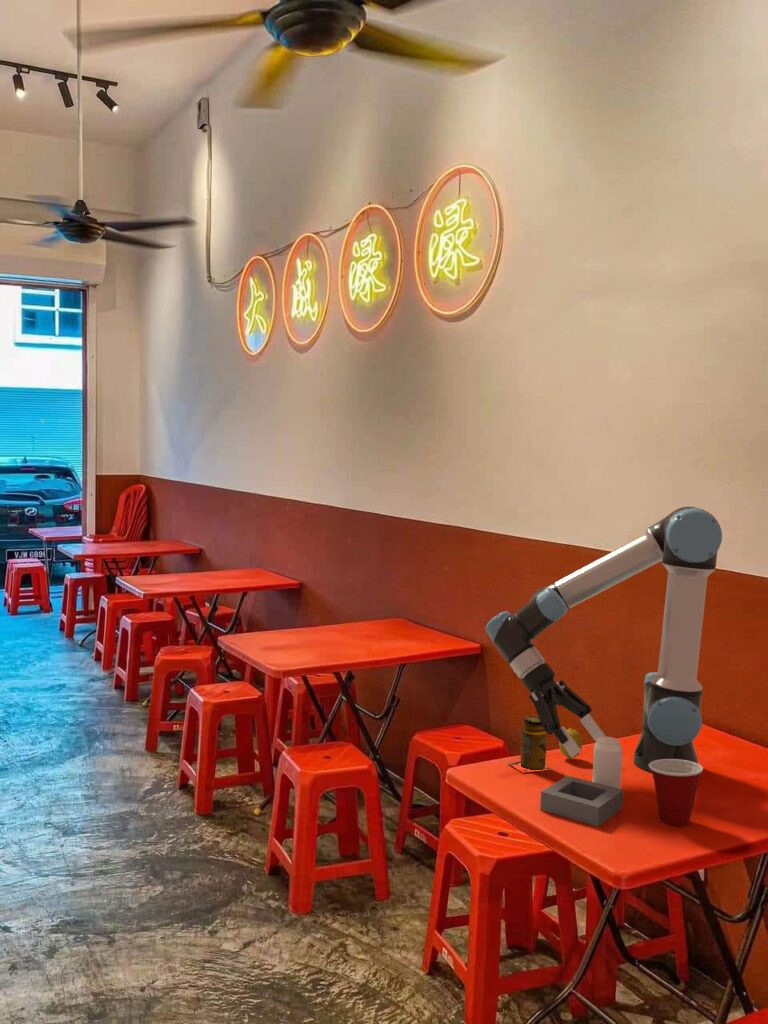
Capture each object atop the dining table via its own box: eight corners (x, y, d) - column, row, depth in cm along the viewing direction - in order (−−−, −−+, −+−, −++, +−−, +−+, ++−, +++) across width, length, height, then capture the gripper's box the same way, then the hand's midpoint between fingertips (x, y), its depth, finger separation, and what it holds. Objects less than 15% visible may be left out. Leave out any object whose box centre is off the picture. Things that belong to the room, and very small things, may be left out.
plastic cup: (657, 806, 190) (660, 752, 190) (707, 820, 183) (710, 764, 183) (637, 821, 182) (640, 764, 181) (689, 836, 175) (692, 777, 174)
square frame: (567, 792, 197) (567, 775, 196) (622, 808, 189) (623, 789, 188) (540, 810, 186) (541, 791, 186) (597, 826, 178) (598, 807, 178)
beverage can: (608, 785, 202) (610, 734, 201) (626, 795, 196) (628, 742, 196) (586, 788, 199) (588, 737, 199) (603, 798, 194) (605, 745, 193)
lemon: (569, 754, 223) (571, 723, 223) (585, 760, 219) (587, 729, 218) (553, 757, 220) (555, 726, 220) (569, 764, 216) (571, 732, 215)
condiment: (552, 770, 211) (554, 721, 211) (523, 774, 208) (525, 724, 207) (535, 760, 218) (537, 713, 217) (506, 764, 214) (508, 716, 214)
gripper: (546, 671, 219) (600, 743, 211) (496, 689, 200) (553, 769, 191) (567, 653, 216) (622, 725, 207) (518, 670, 196) (576, 751, 188)
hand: (589, 747), depth 199 cm, fingers open, 13 cm apart
